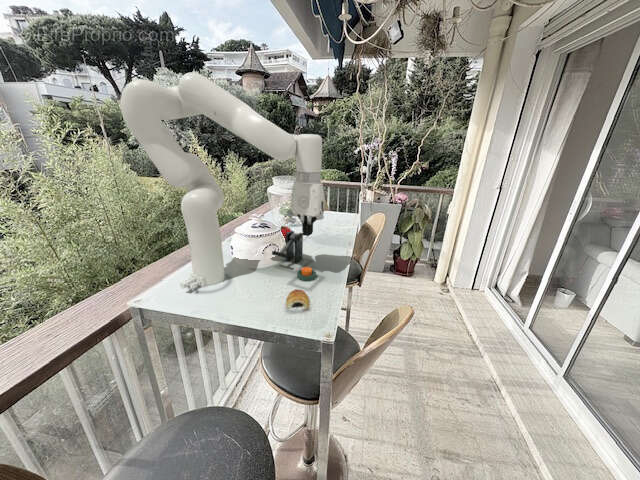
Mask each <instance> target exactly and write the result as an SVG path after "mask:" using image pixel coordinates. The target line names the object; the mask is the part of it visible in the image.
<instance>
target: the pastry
mask: <svg viewBox="0 0 640 480" xmlns="http://www.w3.org/2000/svg"><path fill="white" fill-rule="evenodd" d="M309 306H310V298H309V296H308V295H307V293H306V292H305V290H302V289H297V288H296V289H293V290H292V291H290V292H289V293H288V295H287V297H286V308H288V309H294V308H298V307H299V308H300V307H302V308H304V309H303V311H306V310H307V309H308V308H309Z"/></svg>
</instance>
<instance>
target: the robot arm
mask: <svg viewBox="0 0 640 480" xmlns="http://www.w3.org/2000/svg"><path fill="white" fill-rule="evenodd" d="M119 104H120V105H119V106H120V111H121V116H122V118H123V121H124V123H125V125H126V126H127V128H128V130H129V131H130V133H131V134H132V135H133V137H134V138H135V139H136V141H137V142H138V143H139V144H140V147H142V149H143V150H144V152H145V153H146V155H147V156H148V158H149V159H150V160H151V162H152V163H153V165H154V166H155V168H156V169H157V171H158V172H159V173H160V175H161V176H162V178H163V179H164V180H165V182H166V183H167V184H168V185H170V186H171V187H174V188H179V189H180V188H181V189H182V188H186V190H187V192H186V193H185V194H184V195H183V196H182V199H181V201H180V210H181V215H182V218H183V221H184V224H185V229H186V235H187V241H188V247H189V255H190V260H191V268H192V273H190V274H189V275H190V277H188V279H187V280H185V281H182V282H180V283H179V286H180V288H181V289H185V288H188V287H189V288H190V289H192V290H193V291H196V292H198V290H197V289H194V288H195V287H197V286H198V287H200V288H205V287H209V286H214V285H218V284H220V283H222V282H224V280H225V278H226V272H225V263H224V253H223V243H222V235H221V226H220V223H219V218H218V212H219V210H220V209H221V208H222V206H223V205H224V201H225V196H224V195H225V194H224V193H223V191H222V189H221V186H219V184H218V182H217V181H216V179H215V178H214V176H213V174H212V173H211V171H210V169H209V168H208V166H207V165H206V164H205V162H204V161H203V160H202V159H201V158H200V157H199V156H197V154H195V153H191V152H186V151H184V149H183V148H182V147H181V145H180V144H179V143H178V141H177V139H176V138H175V136H174V135H173V133H172V132H171V131H170V129H169V128H168V127H167V126H166V125H165V124H164V122H163V121H162V120H166V121H168V120H169V121H171V120H172V121H173V120H179V119H183V118H185V119H186V118H188V117H189V118H190V117H194V116H199V115H202V116H204V117H207V118H208V119H210V120H212V121H213V122H215V123H216V124H218V125H219V126H221V127H223V128H224V129H226V130H227V131H229V132H231V133H232V134H234V135H235V136H236V137H239V138H241V139H243V140H244V141H245V142H247V143H248V144H250V145H251V146H253V147H255V148H257V149H258V150H259V151H261V152H263V153H264V154H266V155H268V156H269V157H271V158H273V159H274V160H277V161H281V162H286V161H289V160H291V159H296V160H295V163H296V164H295V168H296V169H295V170H296V171H295V172H293V173H292V177H293V178H295V180H293V183H292V189H291V195H290V196H291V197H290V211H291V212H292V215H293V216H295V217H297V218H298V219H299V220H300V224H301V227H302V228H301V229H302V230H301V231H302V233H303V237H304V236H306V237H309V236H311V235H312V234H313V233H314V223H316V221H322V220H323V219H324V218H325V216H324V213H325V190H324V185H323V184H324V183H323V182H322V162H323V161H322V160H323V159H322V157H323V138H322V136H321V135H319V134H314V133H299V134H294V133H289V132H287V131H286V130H284V129H282V128H281V127H279V126H277V125H276V124H275V123H273V122H272V121H271V120H268V119H267V118H266V117H264V116H262V115H261V114H259V113H258V112H257V111H256V110H254V108H252V107H251V106H250V105H249V104H247V103H245V102H244V101H243V100H241V99H240V98H238V97H236V96H235V95H233V94H232V93H230V92H229V91H227V90H226V89H224V88H223V87H221V86H220V85H218V84H217V83H215V82H214V81H212V80H210V79H209V78H207V77H206V76H204V75H202V74H200V73H197V72H195V71H193V72H186V73H185V74H183V75H182V76H181V77H180V79H179V81H178V84H177V85H172V86H164V85H162V84H159V83H158V82H156V81H152V80H149V79H142V78H139V79H134V80H132V81H130V82H129V83H127V84H126V85H125V86H124V88H123V90H122V93H121V96H120V103H119Z"/></svg>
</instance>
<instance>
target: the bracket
mask: <svg viewBox="0 0 640 480" xmlns="http://www.w3.org/2000/svg"><path fill="white" fill-rule="evenodd" d="M292 233H295V231H294V230H291V231H290V232H288V233H286V241H285V245H286V244H287V243H288V242H289V240H290V238H289V237H290V236H291V235H292ZM296 234H297V235H295V236H294V243H292V244H291V245H290V246H289V247H288V249H287V250H286V251H285V254H288V257H287V258H285V262H290V261H292V260H293V259H294V265H297V264H299V263H301V262H303V253H304V251H303V250H304V249H303V247H304V246H303V245H304V242H303V241H304V240H303V239H304V235H303V232H299V233H296Z"/></svg>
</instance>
